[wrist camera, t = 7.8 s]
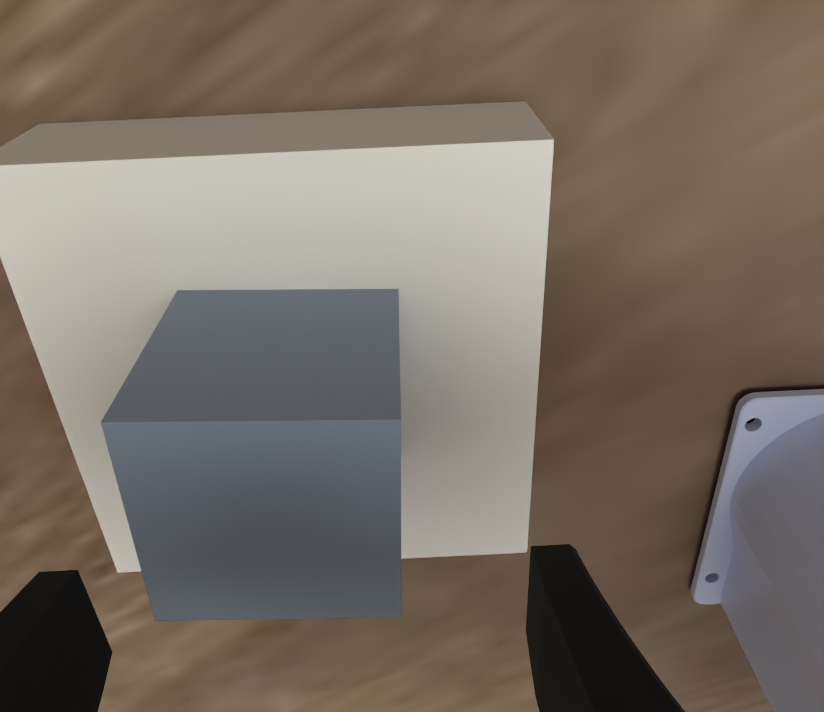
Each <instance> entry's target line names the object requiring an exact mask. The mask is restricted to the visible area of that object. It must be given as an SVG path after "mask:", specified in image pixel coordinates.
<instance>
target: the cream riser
mask: <svg viewBox="0 0 824 712" xmlns="http://www.w3.org/2000/svg"><path fill="white" fill-rule="evenodd" d="M553 147H554V139H553V137H552V136H551V135H550V133H549V132H548V131H547V129H546V128H545V127H544V125H543V124H542V123H541V121H540V120H539V119H538V117H537V116H536V114H535V113H534V112H533V110H532V109H531V108H530V106H529V105H528V104H527V102H526V101H519V102H498V103H477V104H455V105H434V106H413V107H391V108H370V109H349V110H327V111H306V112H285V113H263V114H242V115H220V116H199V117H178V118H156V119H135V120H114V121H92V122H71V123H50V124H38V125H36V126H35V127H33V128H31V129H30V130H28V131H26V132H25V133H23V134H21V135H20V136H18V137H16V138H15V139H13V140H11V141H10V142H8V143H6V144H5V145H3V146H1V147H0V258H1V260H2V263H3V266H4V268H5V271H6V274H7V277H8V279H9V282H10V285H11V287H12V290H13V293H14V295H15V298H16V301H17V303H18V306H19V309H20V311H21V314H22V317H23V320H24V322H25V325H26V328H27V330H28V333H29V336H30V338H31V341H32V344H33V346H34V349H35V352H36V354H37V357H38V360H39V362H40V365H41V368H42V371H43V373H44V376H45V379H46V381H47V384H48V387H49V389H50V392H51V395H52V397H53V400H54V403H55V405H56V408H57V411H58V414H59V416H60V419H61V422H62V424H63V427H64V430H65V432H66V435H67V438H68V440H69V443H70V446H71V448H72V451H73V454H74V457H75V459H76V462H77V465H78V467H79V470H80V473H81V475H82V478H83V481H84V483H85V486H86V489H87V491H88V494H89V497H90V500H91V502H92V505H93V508H94V510H95V513H96V516H97V518H98V521H99V524H100V526H101V529H102V532H103V534H104V537H105V540H106V542H107V545H108V548H109V551H110V553H111V556H112V559H113V561H114V564H115V567H116V569H117V572H118V573H119V572H139V571H141V568H140V564H139V561H138V557H137V553H136V550H135V546H134V542H133V539H132V535H131V532H130V528H129V524H128V521H127V517H126V513H125V510H124V506H123V502H122V499H121V495H120V491H119V488H118V484H117V480H116V477H115V473H114V470H113V466H112V462H111V459H110V455H109V451H108V448H107V444H106V440H105V437H104V433H103V429H102V426H101V421H102V419H103V418H104V416H105V414H106V412H107V411H108V409H109V407H110V405H111V404H112V402H113V400H114V399H115V397H116V395H117V393H118V392H119V390H120V388H121V387H122V385H123V383H124V381H125V380H126V378H127V376H128V374H129V373H130V371H131V369H132V368H133V366H134V364H135V362H136V361H137V359H138V357H139V356H140V354H141V352H142V350H143V349H144V347H145V345H146V343H147V342H148V340H149V338H150V337H151V335H152V333H153V331H154V330H155V328H156V326H157V325H158V323H159V321H160V319H161V318H162V316H163V314H164V313H165V311H166V309H167V307H168V306H169V304H170V302H171V300H172V299H173V297H174V295H175V294H176V292H177V290H289V289H398V292H399V342H400V393H401V559H404V558H424V557H445V556H465V555H486V554H506V553H526V552H527V544H528V529H529V514H530V499H531V483H532V468H533V453H534V438H535V422H536V407H537V392H538V376H539V361H540V346H541V331H542V315H543V300H544V285H545V269H546V254H547V239H548V224H549V208H550V193H551V178H552V162H553Z"/></svg>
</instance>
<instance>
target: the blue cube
mask: <svg viewBox="0 0 824 712" xmlns="http://www.w3.org/2000/svg"><path fill="white" fill-rule="evenodd" d="M101 426H102V429H103V433H104V437H105V440H106V444H107V448H108V451H109V455H110V459H111V462H112V466H113V470H114V473H115V477H116V480H117V484H118V488H119V491H120V495H121V499H122V502H123V506H124V510H125V513H126V517H127V521H128V524H129V528H130V532H131V535H132V539H133V542H134V546H135V550H136V553H137V557H138V561H139V564H140V568H141V572H142V575H143V579H144V583H145V586H146V590H147V593H148V597H149V601H150V604H151V608H152V612H153V615H154V619H155V621H182V620H243V619H304V618H365V617H401V393H400V342H399V292H398V289H289V290H177V292H176V294H175V295H174V297H173V299H172V300H171V302H170V304H169V306H168V307H167V309H166V311H165V313H164V314H163V316H162V318H161V319H160V321H159V323H158V325H157V326H156V328H155V330H154V331H153V333H152V335H151V337H150V338H149V340H148V342H147V343H146V345H145V347H144V349H143V350H142V352H141V354H140V356H139V357H138V359H137V361H136V362H135V364H134V366H133V368H132V369H131V371H130V373H129V374H128V376H127V378H126V380H125V381H124V383H123V385H122V387H121V388H120V390H119V392H118V393H117V395H116V397H115V399H114V400H113V402H112V404H111V405H110V407H109V409H108V411H107V412H106V414H105V416H104V418H103V419H102V421H101Z"/></svg>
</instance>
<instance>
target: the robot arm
mask: <svg viewBox="0 0 824 712" xmlns="http://www.w3.org/2000/svg"><path fill="white" fill-rule="evenodd" d="M753 418H755V420H754V421H753V422H751V423H748V424H746V422H747V421H749V420H750V419H753ZM691 595H692V597H693V599H694V600H695V602H697V603H699V604H721V605H722V607H723V609H724V611H725V614H726V616H727V618H728V620H729V622H730V624H731V626H732V628H733V630H734V632H735V634H736V636H737V638H738V640H739V643H740V645H741V647H742V649H743V651H744V653H745V655H746V657H747V659H748V661H749V663H750V665H751V667H752V669H753V672H754V674H755V676H756V678H757V680H758V682H759V684H760V686H761V688H762V690H763V692H764V694H765V696H766V699H767V701H768V703H769V705H770V707H771V709H772V711H773V712H824V389H812V390H791V391H770V392H754V393H749V394H747V395H745V396H743V397H742V398H741V399H740V400H739V401H738V403H737V405H736V408H735V412H734V416H733V420H732V425H731V429H730V433H729V437H728V441H727V445H726V449H725V453H724V457H723V461H722V465H721V469H720V473H719V477H718V481H717V485H716V489H715V493H714V497H713V501H712V505H711V509H710V513H709V517H708V521H707V525H706V529H705V533H704V537H703V541H702V545H701V550H700V554H699V558H698V562H697V566H696V570H695V574H694V578H693V582H692V586H691ZM526 634H527V641H528V648H529V655H530V662H531V669H532V675H533V682H534V688H535V695H536V699H537V703H538V707H539V711H540V712H685V711H684V710H683V709H682V707H681V706H680V705H679V704H678V702H677V701H676V700H675V698H674V697H673V696H672V695H671V693H670V692H669V691H668V689H667V688H666V687H665V685H664V684H663V683H662V681H661V680H660V679H659V677H658V676H657V675H656V673H655V672H654V671H653V669H652V668H651V666H650V665H649V664H648V662H647V661H646V659H645V658H644V657H643V655H642V654H641V652H640V651H639V650H638V648H637V647H636V645H635V644H634V643H633V641H632V640H631V638H630V637H629V636H628V634H627V633H626V631H625V630H624V628H623V627H622V625H621V624H620V622H619V621H618V619H617V618H616V616H615V615H614V613H613V611H612V610H611V608H610V607H609V605H608V604H607V602H606V601H605V599H604V597H603V596H602V594H601V593H600V591H599V589H598V588H597V586H596V584H595V583H594V581H593V579H592V578H591V576H590V574H589V573H588V571H587V569H586V567H585V566H584V564H583V562H582V560H581V558H580V557H579V555H578V553H577V551H576V549H575V548H573V547H572V546H571V545H570V544H567V545H548V546H531V554H530V571H529V588H528V605H527V622H526ZM111 655H112V650H111V648H110V645H109V643H108V641H107V638H106V636H105V634H104V631H103V629H102V627H101V624H100V622H99V619H98V617H97V615H96V612H95V610H94V608H93V605H92V603H91V601H90V598H89V596H88V593H87V591H86V589H85V586H84V584H83V582H82V579H81V577H80V575H79V572H78V570H69V571H49V572H39V573H38V574H37V575H36V576H35V577H34V578H33V579H32V580H31V581H30V582H29V583H28V584H27V585H26V586H25V587H24V588H23V589H22V590H21V591H20V592H19V593H18V594H17V595H16V597H15V598H14V599H13V600H12V601H11V602H10V603H9V604H8V605H7V606H6V607H5V608H4V609H3V610H2V611H1V612H0V712H98V708H99V704H100V700H101V697H102V693H103V689H104V685H105V681H106V676H107V672H108V668H109V664H110V659H111Z"/></svg>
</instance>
